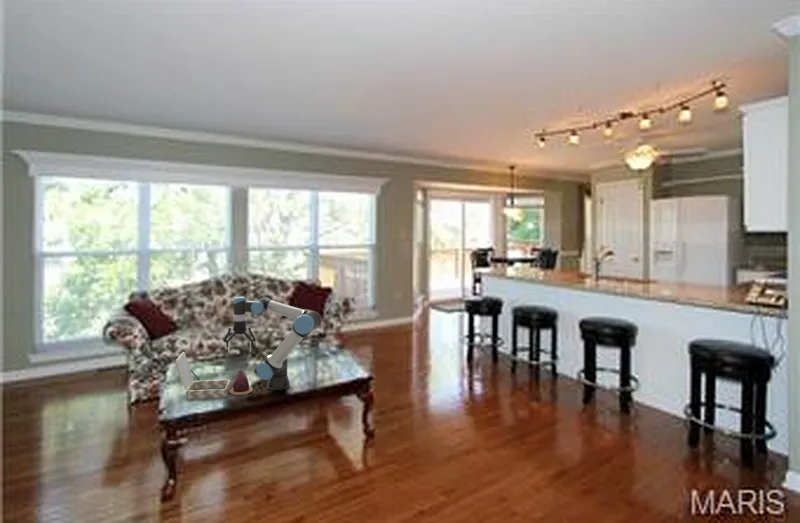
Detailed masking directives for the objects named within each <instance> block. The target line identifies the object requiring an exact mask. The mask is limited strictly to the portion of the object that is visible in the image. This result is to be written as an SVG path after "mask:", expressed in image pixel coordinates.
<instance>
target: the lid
mask: <svg viewBox="0 0 800 523" xmlns="http://www.w3.org/2000/svg"><path fill="white" fill-rule="evenodd" d="M175 362H176V366H177V369H178V372H179V375H180V379H181V382H182V385H183V388H184V391H187V389H188V388H189V387H190V385H191V384H192V382H193V381H194V378H193V374H192V372H191V371H190V370H191V369H190V365H189V363H188V362H189V361H188V358H187V356H186V352H185V351H183V352H181V354H180V355H179V356H178V357H177V358H176V359H175Z"/></svg>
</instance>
